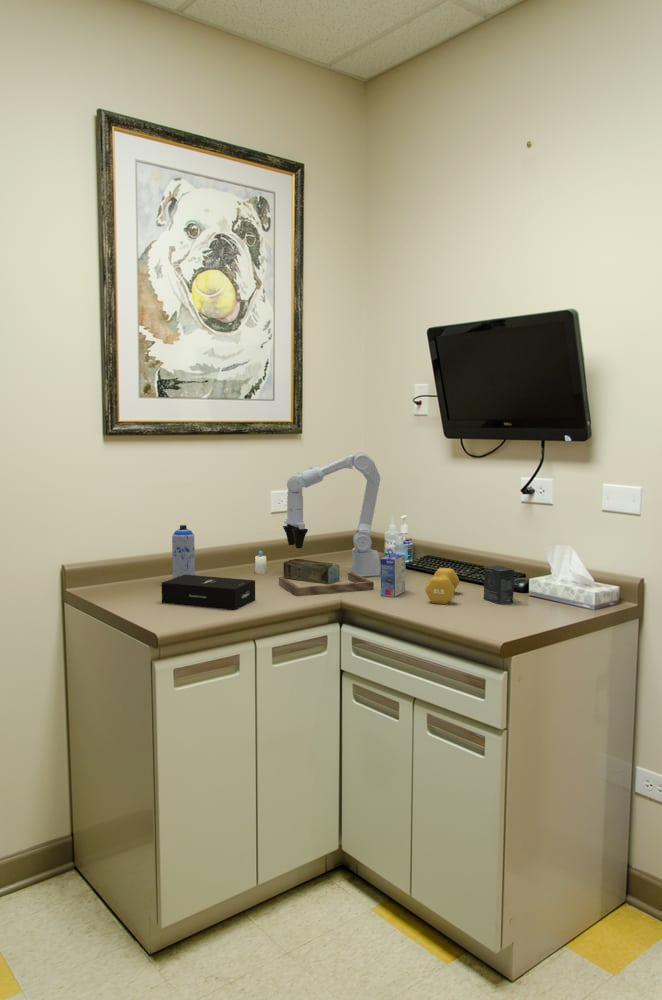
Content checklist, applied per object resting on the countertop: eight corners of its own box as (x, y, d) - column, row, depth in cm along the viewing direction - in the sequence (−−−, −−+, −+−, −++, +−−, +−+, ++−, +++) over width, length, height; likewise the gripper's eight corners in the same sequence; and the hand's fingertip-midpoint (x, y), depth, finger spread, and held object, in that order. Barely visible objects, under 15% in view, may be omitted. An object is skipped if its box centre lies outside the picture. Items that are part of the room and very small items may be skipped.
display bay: (351, 579, 269) (351, 572, 268) (373, 589, 252) (373, 582, 252) (278, 584, 259) (278, 577, 258) (296, 596, 242) (296, 588, 242)
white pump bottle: (264, 571, 282) (264, 549, 282) (267, 573, 279) (267, 551, 278) (254, 571, 281) (253, 550, 280) (257, 574, 277) (257, 552, 276)
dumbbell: (432, 591, 251) (432, 566, 250) (460, 592, 249) (460, 568, 248) (423, 604, 233) (424, 577, 232) (453, 606, 231) (454, 579, 230)
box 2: (513, 602, 235) (514, 568, 234) (498, 604, 232) (499, 570, 231) (497, 597, 242) (498, 564, 241) (483, 599, 239) (483, 566, 238)
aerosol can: (193, 580, 265) (193, 523, 263) (197, 584, 258) (196, 526, 256) (170, 581, 263) (170, 524, 261) (173, 586, 255) (172, 527, 253)
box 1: (161, 604, 232) (161, 582, 232) (185, 594, 245) (184, 574, 244) (235, 611, 224) (235, 589, 223) (255, 601, 236) (255, 580, 236)
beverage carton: (328, 585, 260) (328, 566, 259) (282, 579, 270) (282, 560, 269) (340, 581, 266) (340, 562, 266) (294, 575, 276) (294, 557, 276)
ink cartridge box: (390, 589, 252) (390, 546, 251) (406, 591, 250) (406, 547, 248) (379, 595, 243) (379, 550, 242) (395, 597, 241) (396, 552, 240)
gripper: (278, 507, 279) (278, 544, 280) (291, 511, 266) (291, 550, 267) (296, 506, 282) (296, 543, 283) (310, 510, 268) (310, 549, 270)
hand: (295, 546), depth 275 cm, fingers open, 7 cm apart
